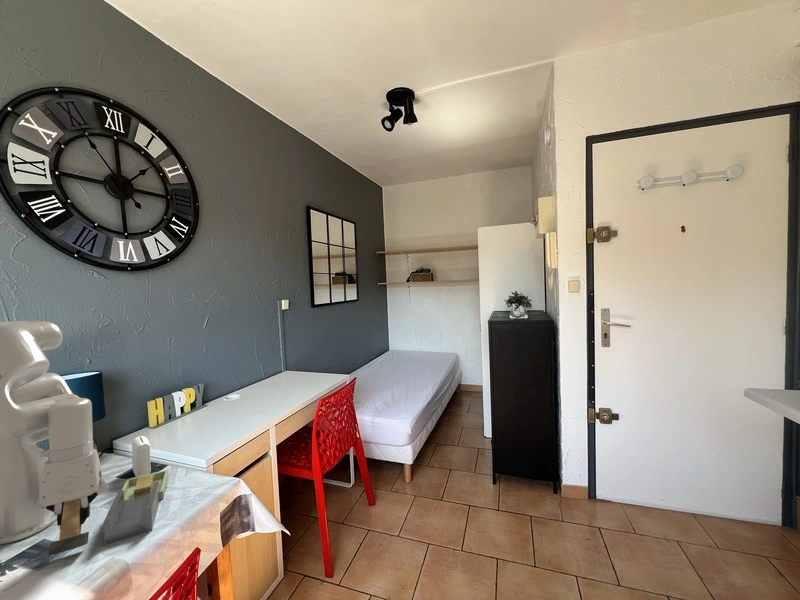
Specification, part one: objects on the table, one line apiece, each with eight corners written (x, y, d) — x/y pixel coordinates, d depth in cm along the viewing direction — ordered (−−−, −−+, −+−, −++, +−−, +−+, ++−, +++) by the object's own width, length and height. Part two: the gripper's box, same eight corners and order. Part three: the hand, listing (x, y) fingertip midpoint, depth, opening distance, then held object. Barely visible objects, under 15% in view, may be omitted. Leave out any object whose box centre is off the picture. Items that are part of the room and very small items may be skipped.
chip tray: (115, 512, 91) (115, 503, 91) (127, 486, 103) (126, 479, 103) (163, 499, 97) (163, 490, 97) (168, 476, 109) (168, 469, 109)
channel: (104, 544, 79) (103, 521, 79) (118, 512, 91) (118, 491, 91) (152, 530, 84) (151, 507, 84) (159, 500, 96) (159, 481, 96)
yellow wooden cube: (134, 503, 94) (133, 490, 94) (137, 496, 97) (136, 483, 97) (151, 498, 96) (150, 485, 96) (153, 491, 99) (153, 479, 99)
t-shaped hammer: (48, 556, 73) (55, 504, 77) (53, 553, 75) (60, 503, 79) (83, 545, 76) (89, 496, 80) (87, 543, 78) (92, 495, 82)
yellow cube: (135, 483, 97) (138, 477, 101) (136, 496, 97) (139, 489, 101) (152, 479, 99) (154, 473, 103) (152, 492, 99) (154, 485, 103)
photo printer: (131, 470, 113) (130, 435, 113) (146, 465, 116) (145, 431, 116) (136, 481, 106) (135, 444, 106) (152, 475, 109) (151, 440, 109)
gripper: (15, 466, 71) (18, 547, 71) (111, 448, 79) (113, 520, 80) (31, 452, 78) (34, 527, 78) (118, 436, 86) (120, 504, 86)
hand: (74, 523), depth 79 cm, fingers closed on t-shaped hammer, 2 cm apart
